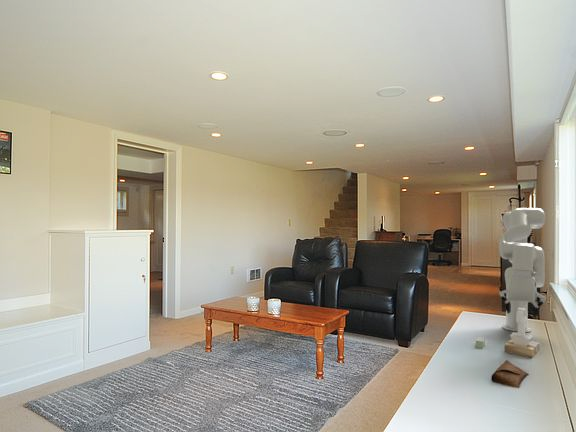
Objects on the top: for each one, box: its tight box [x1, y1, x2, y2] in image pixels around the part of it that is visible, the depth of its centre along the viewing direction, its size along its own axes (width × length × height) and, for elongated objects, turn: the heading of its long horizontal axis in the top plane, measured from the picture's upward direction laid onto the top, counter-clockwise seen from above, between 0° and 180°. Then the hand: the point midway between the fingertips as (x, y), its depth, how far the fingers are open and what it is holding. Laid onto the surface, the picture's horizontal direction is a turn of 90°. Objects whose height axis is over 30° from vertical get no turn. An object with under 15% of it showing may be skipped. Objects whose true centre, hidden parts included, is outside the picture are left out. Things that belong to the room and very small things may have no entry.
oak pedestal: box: [504, 339, 539, 359], centre depth 167 cm, size 11×10×3 cm
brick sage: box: [475, 336, 486, 349], centre depth 174 cm, size 6×3×3 cm, turn 149°
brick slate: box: [529, 340, 541, 351], centre depth 172 cm, size 6×3×3 cm, turn 39°
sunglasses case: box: [491, 359, 530, 389], centre depth 138 cm, size 18×7×7 cm, turn 141°
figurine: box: [509, 308, 534, 346], centre depth 167 cm, size 7×9×15 cm
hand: (521, 314), depth 168 cm, fingers open, 9 cm apart
